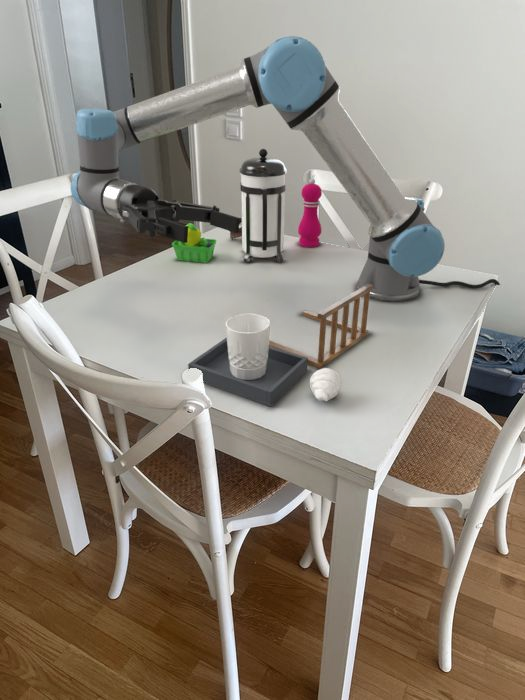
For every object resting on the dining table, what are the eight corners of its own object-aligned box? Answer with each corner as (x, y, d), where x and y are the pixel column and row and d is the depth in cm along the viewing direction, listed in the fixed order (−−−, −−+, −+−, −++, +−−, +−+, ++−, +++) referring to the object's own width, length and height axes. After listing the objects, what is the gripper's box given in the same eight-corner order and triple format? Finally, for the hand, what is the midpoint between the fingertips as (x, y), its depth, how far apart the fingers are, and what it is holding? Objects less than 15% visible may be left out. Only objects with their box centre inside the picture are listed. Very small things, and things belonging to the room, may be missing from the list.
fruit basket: (218, 256, 158) (216, 217, 152) (208, 266, 150) (206, 226, 145) (181, 253, 160) (178, 215, 155) (170, 263, 153) (167, 223, 147)
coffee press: (224, 256, 157) (220, 148, 143) (264, 245, 167) (264, 142, 152) (264, 272, 146) (265, 157, 132) (304, 259, 156) (309, 150, 141)
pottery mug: (263, 246, 167) (250, 225, 162) (236, 257, 171) (223, 237, 166) (265, 226, 176) (253, 205, 171) (240, 236, 179) (228, 217, 174)
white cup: (244, 356, 105) (243, 309, 100) (277, 368, 101) (278, 320, 96) (218, 373, 99) (216, 325, 94) (252, 387, 95) (252, 337, 90)
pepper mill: (324, 246, 166) (328, 180, 156) (302, 248, 164) (305, 181, 154) (315, 239, 172) (319, 175, 162) (294, 241, 170) (296, 176, 160)
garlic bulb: (305, 409, 91) (306, 382, 88) (310, 390, 96) (311, 364, 93) (337, 413, 90) (340, 386, 87) (340, 393, 95) (343, 367, 92)
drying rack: (305, 313, 124) (308, 266, 118) (368, 334, 115) (374, 285, 109) (254, 342, 111) (254, 292, 106) (319, 368, 102) (323, 315, 97)
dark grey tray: (307, 371, 101) (308, 357, 100) (270, 406, 91) (270, 392, 90) (230, 347, 109) (230, 334, 108) (188, 377, 99) (187, 363, 98)
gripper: (177, 216, 116) (254, 241, 106) (78, 230, 98) (160, 262, 87) (179, 180, 113) (258, 202, 102) (77, 187, 94) (161, 215, 84)
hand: (213, 230), depth 95 cm, fingers open, 13 cm apart
